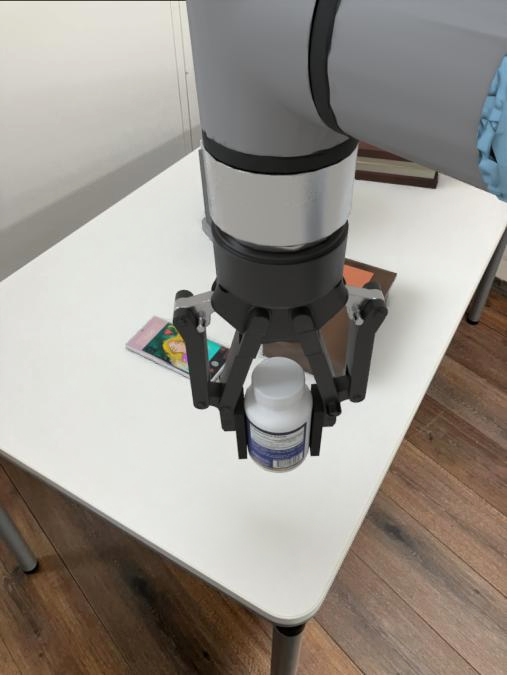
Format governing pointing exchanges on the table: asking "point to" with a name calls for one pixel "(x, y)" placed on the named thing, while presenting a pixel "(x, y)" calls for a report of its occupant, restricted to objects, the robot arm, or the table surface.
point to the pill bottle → (278, 415)
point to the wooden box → (336, 320)
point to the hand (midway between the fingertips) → (277, 443)
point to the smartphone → (173, 348)
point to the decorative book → (391, 168)
